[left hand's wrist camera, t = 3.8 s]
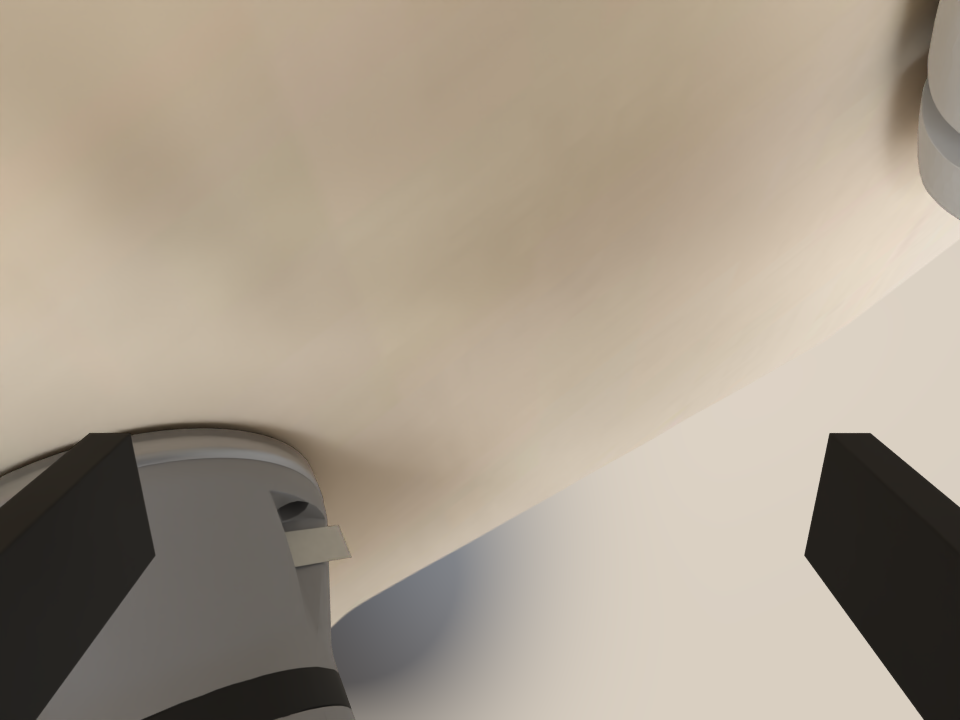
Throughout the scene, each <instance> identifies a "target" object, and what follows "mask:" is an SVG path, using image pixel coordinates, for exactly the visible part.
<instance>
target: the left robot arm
mask: <svg viewBox="0 0 960 720" xmlns="http://www.w3.org/2000/svg"><path fill="white" fill-rule="evenodd" d="M349 557H351V554H350V552H349V549H348V547H347V544H346V542H345V539H344V537H343V535H342V532H341V530H340V527H339V525H336V526H328V525H327V515H326V511H325V506H324V502H323V497H322V494H321V491H320V488H319V486H318V483H317V481H316V478H315V476H314V473H313V471H312V468H311V466H310V465H309V463H308V461H307V460H306V459H305V458H304V457H303V455H302V454H301V453H299V452H298V451H297V450H295V449H294V448H293V447H291V446H289V445H287V444H286V443H284V442H281V441H279V440H276V439H274V438H271V437H268V436H264V435H261V434H257V433H251V432H246V431H240V430H230V429H212V428H196V429H176V430H164V431H156V432H149V433H141V434H135V435H131V434H130V433H89V434H88V435H87V436H86V437H84V438H83V439H82V440H81V441H80V442H78V443H77V444H76V445H75V446H74V447H72V448H71V449H70V450H69V451H65V452H62V453H59V454H56V455H53V456H50V457H48V458H45V459H42V460H39V461H36V462H34V463H32V464H29V465H27V466H24V467H22V468H19V469H17V470H15V471H12V472H10V473H8V474H6V475H4V476H2V477H0V720H355V717H354V715H353V712H352V709H351V706H350V704H349V701H348V698H347V695H346V692H345V689H344V687H343V684H342V681H341V678H340V676H339V672H338V669H337V666H336V663H335V660H334V657H333V652H332V646H331V620H330V589H329V561H332V560H338V559H344V558H349ZM805 557H806V558H807V560H808V561H809V562H810V564H811V565H812V567H813V568H814V569H815V571H816V572H817V574H818V575H819V576H820V578H821V579H822V580H823V582H824V583H825V585H826V586H827V587H828V589H829V590H830V591H831V593H832V594H833V595H834V597H835V598H836V600H837V601H838V602H839V604H840V605H841V607H842V608H843V609H844V611H845V612H846V613H847V615H848V616H849V618H850V619H851V620H852V622H853V623H854V624H855V626H856V627H857V628H858V630H859V631H860V633H861V634H862V635H863V637H864V638H865V639H866V641H867V642H868V644H869V645H870V646H871V648H872V649H873V651H874V652H875V653H876V655H877V656H878V657H879V659H880V660H881V661H882V663H883V664H884V666H885V667H886V668H887V670H888V671H889V673H890V674H891V675H892V677H893V678H894V679H895V681H896V682H897V684H898V685H899V686H900V688H901V689H902V690H903V692H904V693H905V695H906V696H907V697H908V699H909V700H910V701H911V703H912V704H913V705H914V707H915V708H916V710H917V711H918V712H919V714H920V715H921V716H922V718H923V719H924V720H960V507H959V506H958V505H956V504H955V503H954V502H953V501H952V500H950V499H949V498H948V497H947V496H946V495H944V494H943V493H942V492H941V491H939V490H938V489H937V488H936V487H935V486H933V485H932V484H931V483H930V482H929V481H927V480H926V479H925V478H924V477H923V476H921V475H920V474H919V473H918V472H917V471H915V470H914V469H913V468H912V467H911V466H909V465H908V464H907V463H906V462H905V461H903V460H902V459H901V458H900V457H898V456H897V455H896V454H895V453H894V452H892V451H891V450H890V449H889V448H888V447H886V446H885V445H884V444H883V443H882V442H880V441H879V440H878V439H877V438H876V437H874V436H873V435H872V434H871V433H830V434H829V438H828V443H827V448H826V453H825V458H824V463H823V467H822V472H821V477H820V482H819V487H818V492H817V497H816V501H815V506H814V511H813V516H812V521H811V526H810V530H809V535H808V540H807V545H806V550H805Z"/></svg>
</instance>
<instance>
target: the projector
mask: <svg viewBox="0 0 960 720" xmlns="http://www.w3.org/2000/svg"><path fill="white" fill-rule="evenodd" d="M918 164H919V171H920V176H921V179H922V182H923V185H924V187H925V189H926V190H927V192H928V193H929V194H930V195H931V197H932V198H933V199H934V200H935V201H936V202H937V203H938V204H939V205H940V206H941V207H942V208H943V209H945V210H946V211H947V212H949V213H950V214H951V215H953V216H954V217H956V218H957V219H959V220H960V0H940V1H939V5H938V10H937V14H936V18H935V22H934V28H933V33H932V38H931V43H930V49H929V54H928V77H927V79H926V82H925V84H924V87H923V92H922V98H921V106H920V113H919V123H918Z"/></svg>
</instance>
